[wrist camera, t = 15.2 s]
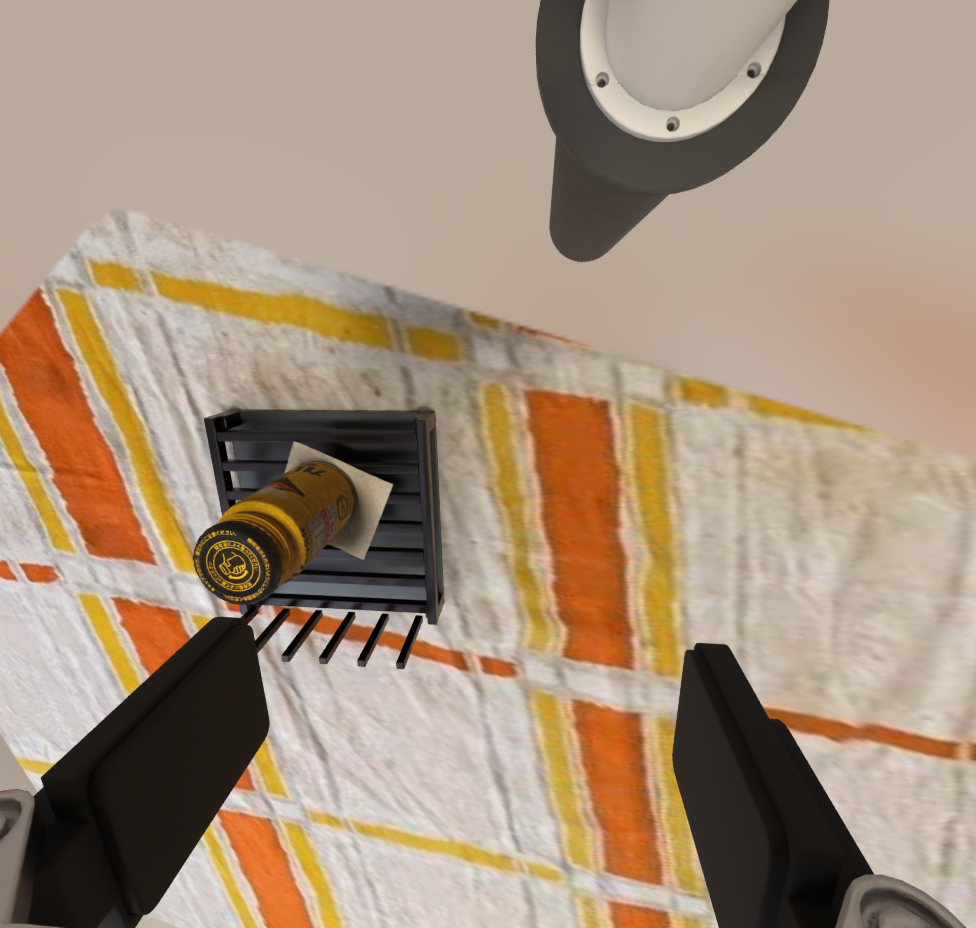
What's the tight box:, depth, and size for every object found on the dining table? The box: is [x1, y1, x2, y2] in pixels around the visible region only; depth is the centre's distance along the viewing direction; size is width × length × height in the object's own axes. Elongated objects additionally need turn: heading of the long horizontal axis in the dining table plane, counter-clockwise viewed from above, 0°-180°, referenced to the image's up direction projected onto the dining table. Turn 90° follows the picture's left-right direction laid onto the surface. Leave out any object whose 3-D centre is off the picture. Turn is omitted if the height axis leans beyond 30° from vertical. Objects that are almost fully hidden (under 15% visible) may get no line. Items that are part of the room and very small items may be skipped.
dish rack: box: [204, 410, 444, 669], centre depth 39 cm, size 18×18×9 cm
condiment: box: [193, 441, 393, 605], centre depth 34 cm, size 7×8×12 cm
